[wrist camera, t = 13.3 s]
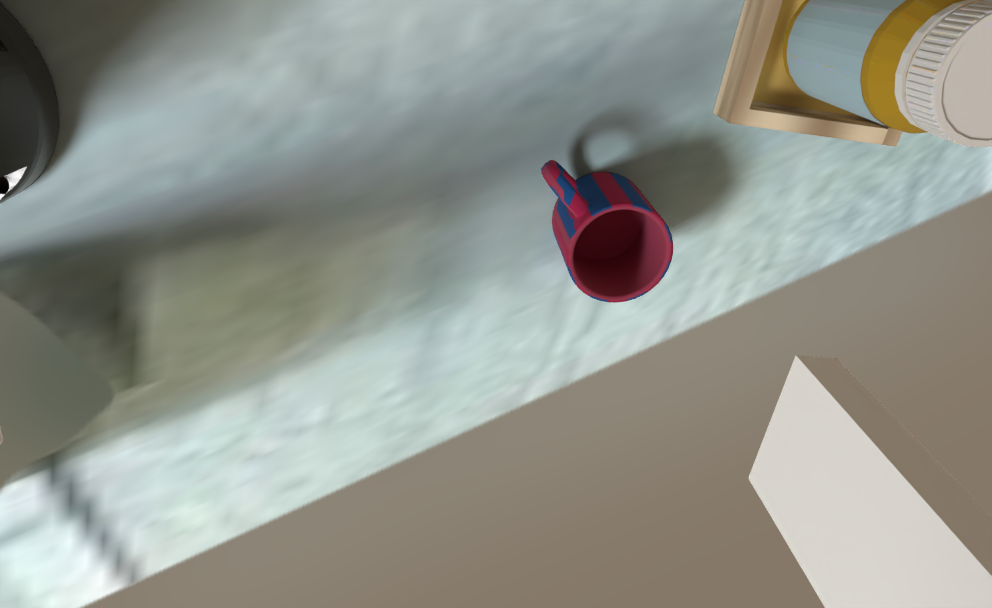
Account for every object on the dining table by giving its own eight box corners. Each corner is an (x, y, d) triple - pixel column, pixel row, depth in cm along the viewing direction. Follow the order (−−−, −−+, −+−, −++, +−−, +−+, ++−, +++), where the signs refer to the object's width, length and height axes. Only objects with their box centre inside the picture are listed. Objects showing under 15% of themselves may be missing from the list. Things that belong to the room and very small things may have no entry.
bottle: (910, 19, 43) (1117, 50, 30) (832, 116, 46) (991, 184, 32) (832, -46, 41) (1017, -45, 28) (755, 58, 44) (891, 106, 30)
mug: (583, 277, 51) (602, 320, 45) (507, 170, 47) (516, 203, 41) (661, 226, 50) (691, 265, 44) (589, 112, 46) (612, 137, 39)
